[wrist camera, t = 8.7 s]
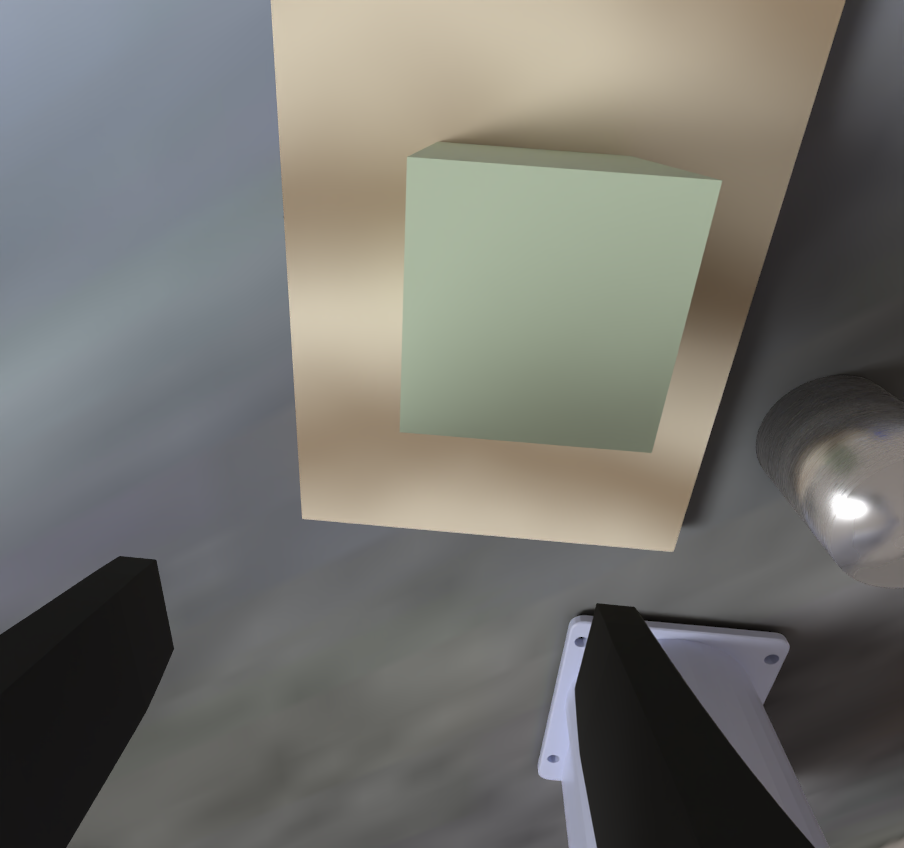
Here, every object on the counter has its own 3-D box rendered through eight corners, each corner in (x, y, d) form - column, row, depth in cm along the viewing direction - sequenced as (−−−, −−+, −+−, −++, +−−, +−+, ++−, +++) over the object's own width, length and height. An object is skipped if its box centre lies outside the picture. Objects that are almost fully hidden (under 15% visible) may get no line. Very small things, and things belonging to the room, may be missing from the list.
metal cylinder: (864, 494, 19) (964, 594, 15) (739, 483, 19) (806, 580, 15) (918, 380, 17) (1048, 460, 13) (780, 369, 17) (868, 445, 13)
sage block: (596, 339, 16) (651, 453, 10) (428, 326, 16) (399, 432, 11) (631, 155, 14) (722, 180, 8) (437, 141, 14) (406, 156, 8)
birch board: (663, 528, 20) (673, 551, 19) (311, 497, 20) (302, 518, 19) (879, -203, 12) (919, -236, 11) (274, -245, 12) (254, -282, 11)
